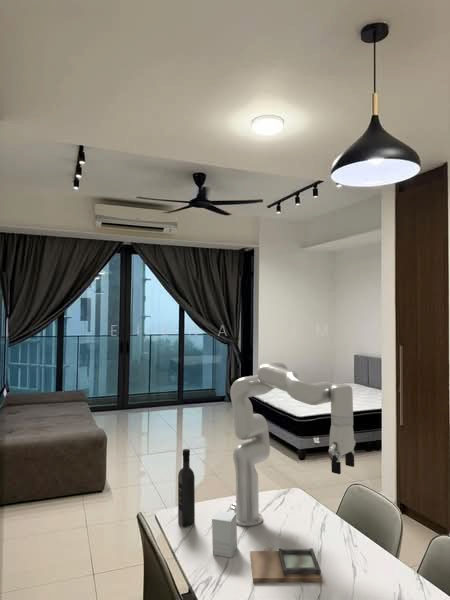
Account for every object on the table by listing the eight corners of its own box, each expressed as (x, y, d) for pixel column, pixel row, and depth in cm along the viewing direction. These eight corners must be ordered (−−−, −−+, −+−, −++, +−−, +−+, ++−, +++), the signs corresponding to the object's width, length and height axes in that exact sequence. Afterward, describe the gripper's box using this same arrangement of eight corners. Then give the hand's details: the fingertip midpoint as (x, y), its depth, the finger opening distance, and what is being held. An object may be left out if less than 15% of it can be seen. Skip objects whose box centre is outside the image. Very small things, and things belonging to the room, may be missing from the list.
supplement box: (237, 547, 156) (237, 512, 157) (231, 558, 149) (231, 521, 150) (218, 544, 158) (218, 509, 159) (211, 554, 151) (211, 518, 152)
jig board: (253, 583, 135) (252, 573, 135) (250, 555, 151) (250, 546, 151) (322, 582, 135) (321, 572, 135) (311, 554, 151) (311, 546, 151)
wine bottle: (183, 528, 171) (182, 453, 172) (177, 522, 176) (177, 449, 177) (195, 524, 174) (195, 450, 175) (189, 519, 178) (189, 447, 180)
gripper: (344, 414, 158) (345, 461, 157) (319, 422, 145) (320, 473, 145) (363, 417, 153) (364, 465, 152) (339, 426, 140) (340, 479, 139)
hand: (343, 469), depth 148 cm, fingers open, 9 cm apart
